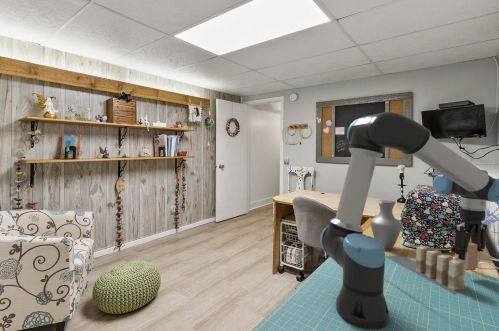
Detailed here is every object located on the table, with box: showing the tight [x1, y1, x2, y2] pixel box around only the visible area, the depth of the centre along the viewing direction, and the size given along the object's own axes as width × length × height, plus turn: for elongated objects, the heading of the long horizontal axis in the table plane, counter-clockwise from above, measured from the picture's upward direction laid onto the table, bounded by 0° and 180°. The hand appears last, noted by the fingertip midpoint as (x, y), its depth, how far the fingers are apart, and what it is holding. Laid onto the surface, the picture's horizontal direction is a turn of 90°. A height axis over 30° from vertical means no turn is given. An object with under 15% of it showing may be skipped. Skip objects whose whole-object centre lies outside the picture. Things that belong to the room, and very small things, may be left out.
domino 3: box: [436, 254, 454, 284], centre depth 96 cm, size 5×2×10 cm, turn 104°
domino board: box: [385, 254, 474, 295], centre depth 105 cm, size 9×32×1 cm, turn 14°
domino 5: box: [463, 242, 478, 271], centre depth 100 cm, size 5×2×10 cm, turn 104°
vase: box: [370, 199, 403, 251], centre depth 132 cm, size 14×14×25 cm
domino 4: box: [448, 259, 466, 290], centre depth 92 cm, size 5×2×10 cm, turn 104°
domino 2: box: [425, 249, 442, 278], centre depth 101 cm, size 5×2×10 cm, turn 104°
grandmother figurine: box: [449, 246, 459, 260], centre depth 110 cm, size 8×4×13 cm, turn 27°
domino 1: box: [415, 245, 432, 273], centre depth 105 cm, size 5×2×10 cm, turn 104°
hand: (468, 266), depth 100 cm, fingers closed on domino 5, 5 cm apart
